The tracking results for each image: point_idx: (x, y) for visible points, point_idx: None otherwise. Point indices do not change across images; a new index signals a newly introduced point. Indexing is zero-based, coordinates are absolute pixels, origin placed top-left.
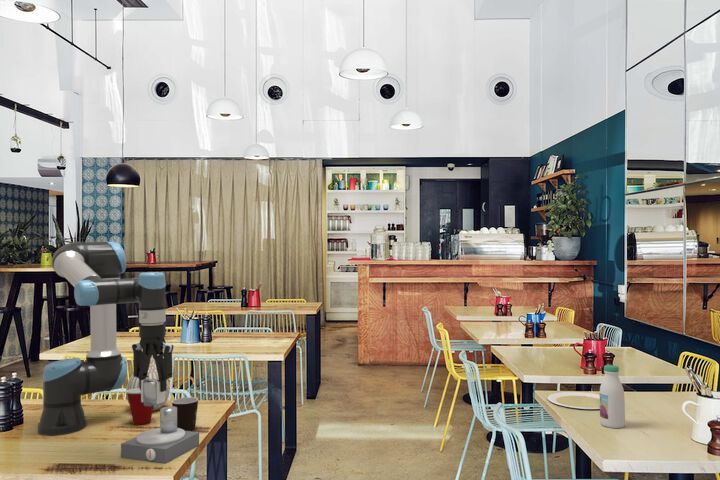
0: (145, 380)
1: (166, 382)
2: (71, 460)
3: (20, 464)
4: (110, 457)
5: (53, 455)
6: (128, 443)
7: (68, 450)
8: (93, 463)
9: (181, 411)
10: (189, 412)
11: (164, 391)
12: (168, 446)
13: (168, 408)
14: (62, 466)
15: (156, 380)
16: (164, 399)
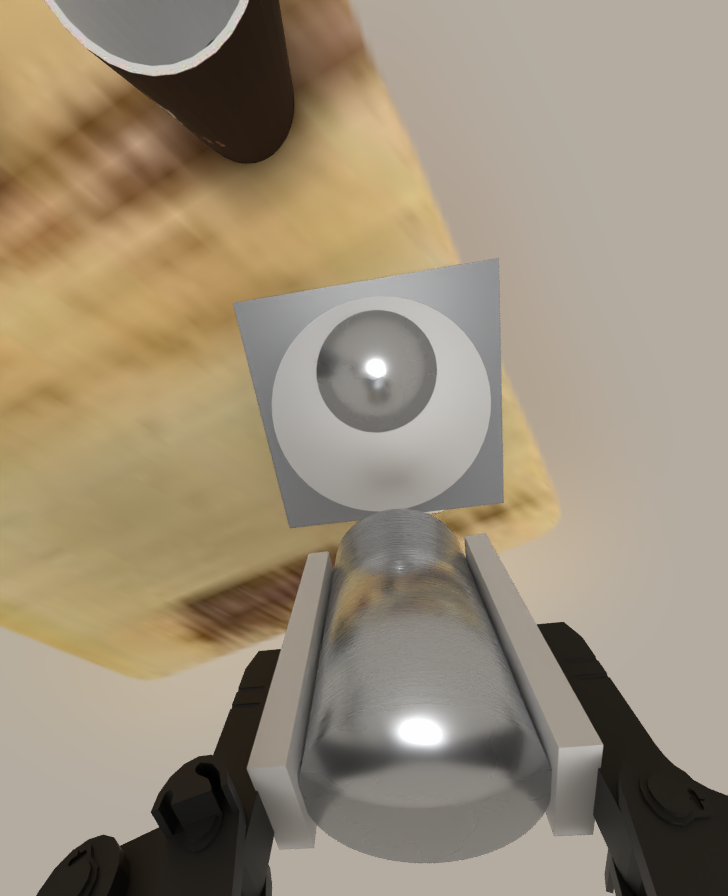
0: (320, 814)
1: (641, 724)
2: (190, 578)
3: (104, 643)
4: (270, 517)
5: (99, 574)
6: (314, 516)
7: (87, 531)
8: (272, 568)
9: (232, 93)
10: (272, 47)
11: (521, 600)
12: (492, 476)
13: (376, 375)
14: (217, 612)
15: (476, 775)
16: (490, 546)
